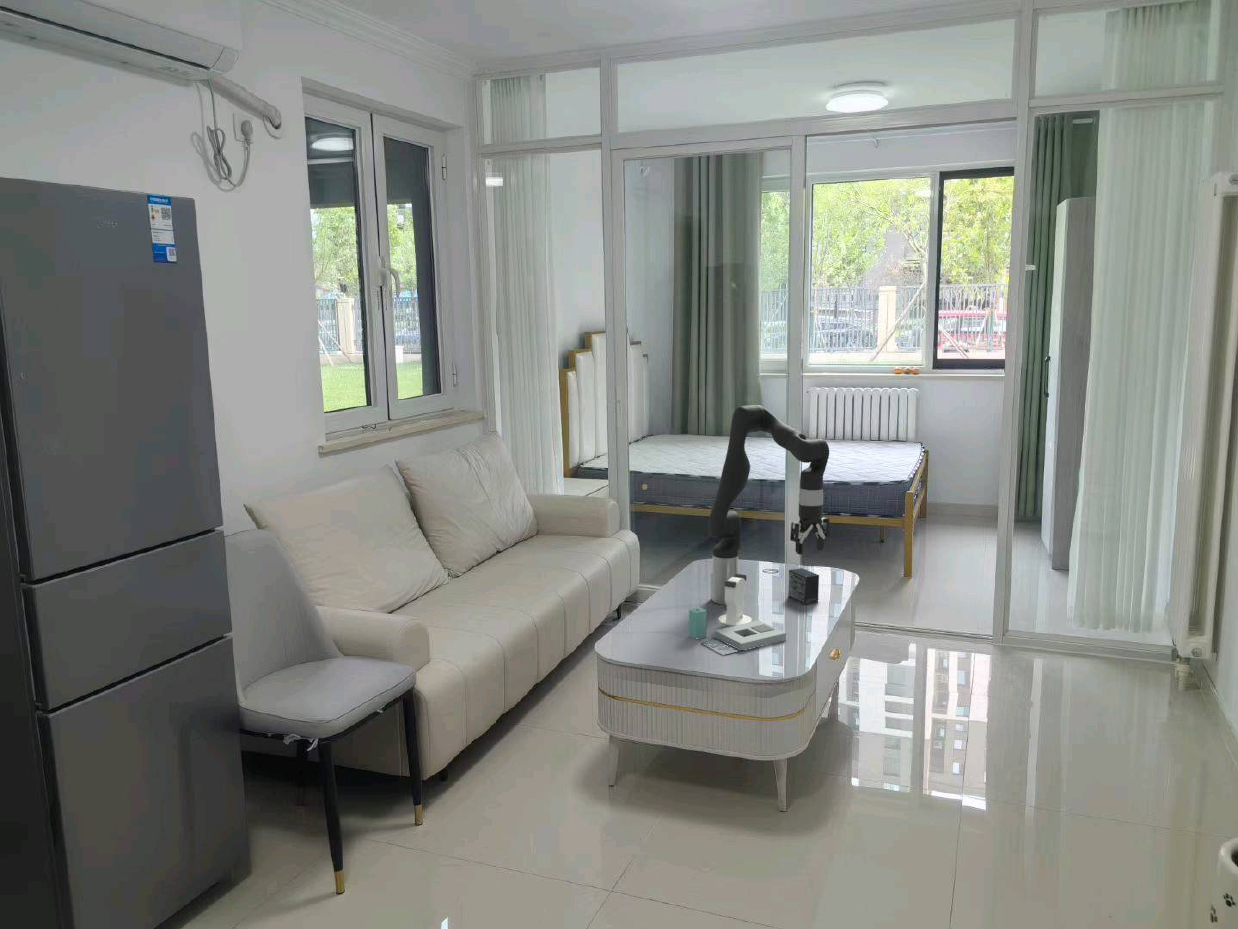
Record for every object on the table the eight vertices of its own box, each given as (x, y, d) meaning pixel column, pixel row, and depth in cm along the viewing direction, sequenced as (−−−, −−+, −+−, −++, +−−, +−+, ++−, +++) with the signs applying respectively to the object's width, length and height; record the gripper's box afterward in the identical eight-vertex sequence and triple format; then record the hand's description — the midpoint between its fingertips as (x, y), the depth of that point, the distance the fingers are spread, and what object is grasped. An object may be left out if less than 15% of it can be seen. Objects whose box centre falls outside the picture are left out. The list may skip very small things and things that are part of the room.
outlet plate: (714, 637, 303) (714, 629, 303) (758, 627, 312) (758, 619, 312) (741, 651, 291) (741, 643, 291) (786, 640, 300) (786, 632, 300)
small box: (819, 602, 336) (820, 574, 335) (804, 605, 334) (805, 577, 332) (801, 594, 346) (802, 567, 344) (787, 597, 343) (788, 569, 341)
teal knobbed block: (689, 635, 305) (689, 607, 304) (699, 633, 307) (699, 605, 306) (696, 639, 302) (696, 611, 300) (706, 637, 304) (706, 608, 302)
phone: (723, 657, 288) (723, 654, 288) (700, 645, 298) (700, 642, 298) (738, 653, 291) (738, 650, 291) (716, 641, 301) (716, 638, 301)
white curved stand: (726, 612, 327) (726, 571, 325) (757, 617, 322) (757, 575, 319) (713, 622, 317) (713, 580, 314) (744, 628, 312) (745, 584, 309)
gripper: (819, 497, 300) (818, 546, 303) (785, 502, 293) (784, 552, 296) (836, 501, 294) (834, 551, 297) (801, 507, 286) (800, 558, 289)
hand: (809, 552), depth 296 cm, fingers open, 8 cm apart
